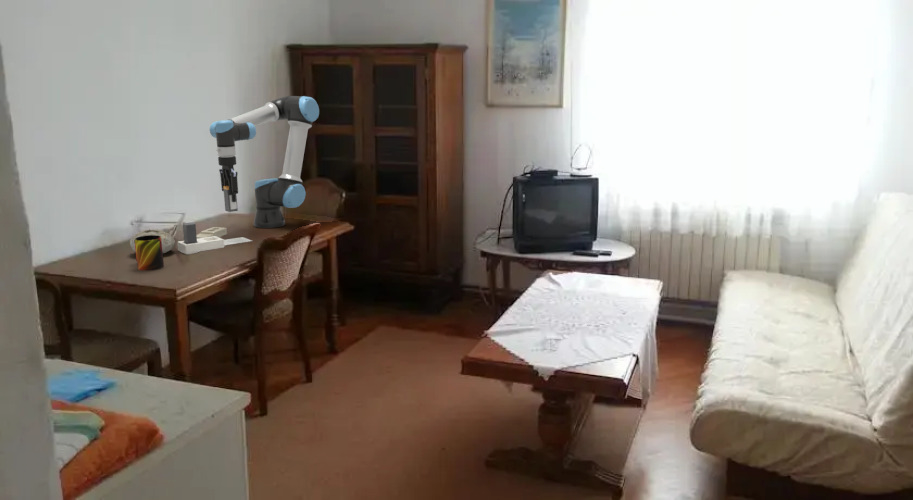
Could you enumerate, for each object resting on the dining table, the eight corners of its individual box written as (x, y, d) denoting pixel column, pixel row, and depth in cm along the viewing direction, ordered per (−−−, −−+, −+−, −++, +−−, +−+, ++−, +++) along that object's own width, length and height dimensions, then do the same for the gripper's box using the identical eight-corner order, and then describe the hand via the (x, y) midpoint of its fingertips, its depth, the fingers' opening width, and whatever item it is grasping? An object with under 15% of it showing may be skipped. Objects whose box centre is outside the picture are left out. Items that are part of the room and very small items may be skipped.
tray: (242, 238, 359) (242, 237, 359) (252, 241, 352) (252, 240, 352) (213, 242, 351) (213, 241, 350) (223, 246, 343) (223, 245, 343)
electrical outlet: (190, 234, 350) (213, 226, 367) (191, 243, 351) (214, 235, 368) (204, 235, 348) (226, 227, 365) (205, 244, 349) (227, 236, 366)
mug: (137, 263, 316) (134, 234, 313) (168, 264, 313) (166, 235, 310) (123, 269, 307) (120, 239, 304) (154, 271, 304) (152, 241, 301)
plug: (233, 209, 351) (231, 185, 348) (237, 210, 348) (235, 186, 345) (225, 210, 348) (223, 186, 346) (229, 212, 345) (227, 187, 343)
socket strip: (215, 244, 347) (213, 216, 344) (224, 248, 340) (222, 219, 337) (178, 250, 336) (175, 221, 333) (186, 254, 329) (183, 224, 326)
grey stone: (182, 249, 339) (180, 226, 336) (164, 259, 321) (162, 236, 319) (143, 248, 340) (141, 226, 338) (123, 258, 323) (120, 235, 320)
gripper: (210, 155, 346) (215, 206, 352) (227, 158, 333) (231, 212, 339) (226, 153, 351) (230, 204, 357) (243, 157, 338) (247, 209, 344)
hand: (231, 208), depth 348 cm, fingers closed on plug, 4 cm apart
